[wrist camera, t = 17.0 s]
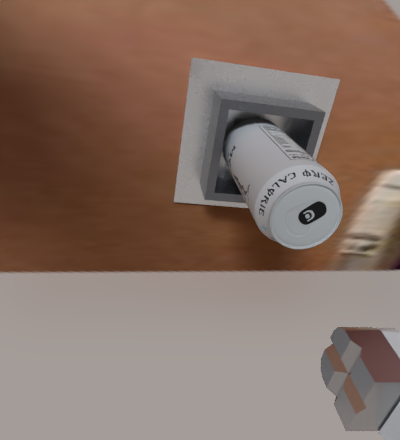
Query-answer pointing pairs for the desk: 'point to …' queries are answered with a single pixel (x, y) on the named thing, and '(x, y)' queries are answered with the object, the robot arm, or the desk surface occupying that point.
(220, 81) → the socket
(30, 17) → the desk surface
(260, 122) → the energy drink can
